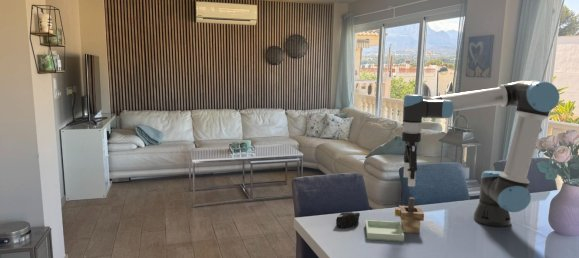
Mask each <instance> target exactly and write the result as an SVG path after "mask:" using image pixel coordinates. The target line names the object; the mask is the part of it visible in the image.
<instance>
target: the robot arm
mask: <svg viewBox="0 0 579 258" xmlns="http://www.w3.org/2000/svg"><path fill="white" fill-rule="evenodd" d="M559 101H560V92H559V89H558V88H557V86H555V85H554V84H553V83H551V82H548V81H545V80H534V79H525V80H524V79H523V80H517V81H515V82H508V83H504V84H503V83H502V84H499V85H498V86H497V87H492V88H486V89H478V90H471V91H463V92H457V93H451V94H443V95H436V96H423V95H422V94H415V93H414V94H411V93H410V94H405V96H404V98H403V104H402V105H403V106H402V108H403V110H402V112H403V114H402V123H401V124H400V125H401V127H402V131H403V132H402V133H401V140H402V141H403V142H405V146H404V155H403V161H404V162H403V178H408V179H407V187H416V178H417V176H416V174H417V171H418V165H417V164H418V163H417V161H418V159H417V155H418V154H417V153H418V152H417V147H418V146H416V143H420V142H421V138H422V133H421V132H422V125H423V122H422V121H423V119H450V118H451V117H452V116H453V115H454V112H457V111H463V110H464V111H465V110H471V109H479V108H480V109H481V108H486V107H492V106H501V107H502V108H503V107H516V109H515V112H516V114H517V115H518V118H517V121H516V125H515V129H514V133H513V135H512V136H513V137H512V140H511V143H510V146H509V147H510V148H509V150H508V151H509V152H508V155H507V158H506V162H505V166H504V170H503V171H499V170H484V171H482V173H481V177H480V189H479V201H478V204H477V206H476V209H475V210H474V213H473V220H474V221H475V222H477V223H479V224H482V225H486V226H489V227H497V228H500V227H501V228H502V227H509V226H510V225H511V221H512V220H511V214H510V213H518V212H522V211H523V210H526V209H527V207H528V206H529V205H530V203H531V200H532V195H531V193H530V191H529V186H530V180H529V178H528V174H529V170H530V166H531V164H532V159H533V155H534V153H535V148H536V145H537V142H538V138H539V135H540V130H541V127H542V123H543V121H544V120H546V119H547V118H548V117H549V115H550V111H552V110H554V108H555V109H556V108H557V105H558V104H559Z"/></svg>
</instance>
